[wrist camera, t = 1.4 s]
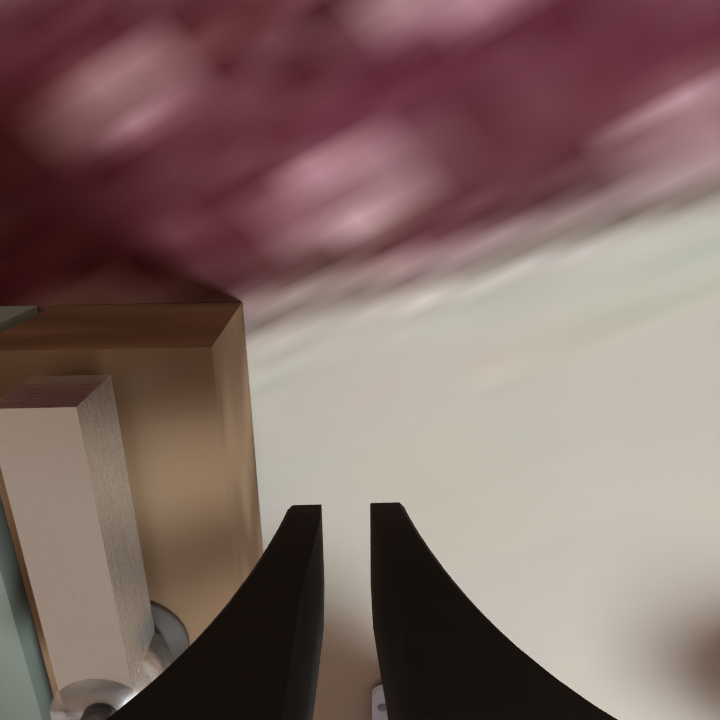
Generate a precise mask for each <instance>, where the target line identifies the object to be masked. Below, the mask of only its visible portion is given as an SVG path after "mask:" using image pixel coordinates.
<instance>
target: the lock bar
mask: <svg viewBox="0 0 720 720" xmlns="http://www.w3.org/2000/svg"><path fill="white" fill-rule="evenodd" d="M0 467H1V471H2V475H3V479H4V483H5V486H6V490H7V494H8V498H9V502H10V506H11V510H12V513H13V517H14V521H15V525H16V529H17V533H18V537H19V540H20V544H21V548H22V552H23V556H24V560H25V564H26V567H27V571H28V575H29V579H30V583H31V587H32V591H33V594H34V598H35V602H36V606H37V610H38V614H39V618H40V621H41V625H42V629H43V633H44V637H45V641H46V644H47V648H48V652H49V656H50V660H51V664H52V668H53V671H54V675H55V679H56V683H57V687H58V691H57V692H56V694H55V696H54V698H53V700H52V703H51V706H50V715H51V719H52V720H106V719H107V718H108V717H110V716H111V715H112V714H114V713H115V712H116V711H117V710H119V709H120V708H121V707H122V706H124V705H125V704H126V703H127V702H128V701H129V700H131V699H132V698H133V697H134V696H135V695H137V694H138V693H139V692H140V691H141V690H143V689H144V688H145V687H146V686H147V685H149V684H150V683H151V682H152V681H153V680H154V679H156V678H157V677H158V676H159V675H160V674H161V673H162V672H163V671H164V670H165V669H166V668H168V667H169V666H170V665H171V664H172V653H171V650H170V647H169V645H168V644H167V642H166V641H165V640H164V638H163V637H162V636H160V635H159V634H158V633H157V632H155V629H154V623H153V617H152V611H151V605H150V600H149V594H148V588H147V582H146V576H145V570H144V565H143V559H142V553H141V547H140V541H139V536H138V530H137V524H136V518H135V512H134V506H133V501H132V495H131V489H130V483H129V477H128V472H127V466H126V460H125V454H124V448H123V442H122V437H121V431H120V425H119V419H118V413H117V408H116V402H115V396H114V390H113V384H112V378H111V375H75V376H32V377H30V378H29V379H28V380H26V381H25V382H23V383H22V384H20V385H19V386H18V387H16V388H15V389H13V390H12V391H11V392H9V393H8V394H6V395H5V396H3V397H2V398H1V399H0Z"/></svg>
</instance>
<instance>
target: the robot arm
mask: <svg viewBox="0 0 720 720" xmlns="http://www.w3.org/2000/svg"><path fill="white" fill-rule="evenodd" d="M370 528H371V597H372V614H373V629H374V635H375V642H376V648H377V654H378V661H379V667H380V673H381V679H382V685H378V686H376V687H375V688H374V689H373V690H372V720H617V719H615V718H614V717H612V716H611V715H609V714H607V713H606V712H604V711H602V710H601V709H599V708H598V707H596V706H595V705H593V704H592V703H590V702H589V701H587V700H586V699H584V698H583V697H582V696H580V695H579V694H577V693H576V692H574V691H573V690H572V689H570V688H569V687H567V686H566V685H565V684H563V683H562V682H560V681H559V680H558V679H556V678H555V677H554V676H552V675H551V674H550V673H549V672H547V671H546V670H545V669H544V668H542V667H541V666H540V665H539V664H538V663H536V662H535V661H534V660H533V659H531V658H530V657H529V656H528V655H527V654H525V653H524V652H523V651H522V650H520V649H519V648H518V647H517V646H516V645H515V644H514V643H512V642H511V641H510V640H509V639H508V638H507V637H506V636H505V635H504V634H503V633H502V632H501V631H499V630H498V629H497V628H496V627H495V626H494V625H493V624H492V623H491V622H490V621H489V620H488V619H487V618H486V617H485V616H484V615H483V614H482V613H481V611H480V610H479V609H478V608H477V607H476V606H475V605H474V604H473V603H472V602H471V601H470V600H469V598H468V597H467V596H466V595H465V594H464V593H463V591H462V590H461V589H460V588H459V587H458V586H457V584H456V583H455V582H454V581H453V580H452V578H451V577H450V576H449V575H448V573H447V572H446V571H445V570H444V568H443V567H442V565H441V564H440V563H439V561H438V560H437V559H436V557H435V556H434V555H433V553H432V552H431V551H430V549H429V548H428V546H427V545H426V543H425V542H424V540H423V539H422V537H421V536H420V534H419V533H418V531H417V529H416V528H415V526H414V525H413V523H412V521H411V519H410V518H409V516H408V514H407V512H406V510H405V508H404V507H403V506H402V505H401V504H400V503H399V502H398V503H370ZM323 627H324V561H323V535H322V508H321V505H293V506H291V507H290V508H289V509H288V510H287V512H286V515H285V517H284V519H283V521H282V523H281V525H280V527H279V528H278V530H277V532H276V534H275V535H274V537H273V539H272V541H271V542H270V544H269V546H268V547H267V549H266V550H265V552H264V553H263V555H262V556H261V558H260V559H259V561H258V562H257V564H256V566H255V567H254V569H253V570H252V571H251V573H250V574H249V576H248V577H247V578H246V580H245V581H244V582H243V584H242V585H241V586H240V588H239V589H238V590H237V592H236V593H235V594H234V596H233V597H232V598H231V600H230V601H229V602H228V603H227V605H226V606H225V607H224V608H223V609H222V611H221V612H220V613H219V614H218V615H217V617H216V618H215V619H214V620H213V621H212V622H211V623H210V625H209V626H208V627H207V628H206V629H205V630H204V631H203V632H202V633H201V634H200V636H199V637H198V638H197V639H196V640H195V641H194V642H193V643H192V644H191V645H190V646H189V647H188V648H187V649H186V650H185V651H184V652H183V653H182V654H181V655H180V656H179V657H178V658H177V659H176V660H175V661H174V662H173V663H172V664H171V665H170V666H169V667H168V668H166V669H165V670H164V671H163V672H162V673H161V674H160V675H159V676H158V677H157V678H156V679H154V680H153V681H152V682H151V683H150V684H149V685H147V686H146V687H145V688H144V689H143V690H141V691H140V692H139V693H138V694H137V695H135V696H134V697H133V698H132V699H131V700H129V701H128V702H127V703H126V704H125V705H124V706H122V707H121V708H120V709H119V710H117V711H116V712H115V713H114V714H112V715H111V716H110V717H108V718H107V719H106V720H312V719H313V711H314V703H315V695H316V687H317V679H318V671H319V662H320V654H321V646H322V637H323ZM382 703H384V704H382Z"/></svg>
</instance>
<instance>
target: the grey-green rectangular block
mask: <svg viewBox="0 0 720 720" xmlns="http://www.w3.org/2000/svg"><path fill="white" fill-rule="evenodd" d="M36 314H38V309H37V306H0V333H1V332H3V331H5V330H7V329H9V328H11V327H13V326H15V325H17V324H19V323H21V322H23V321H25V320H26V319H28V318H30V317H32V316H34V315H36ZM53 698H54V695H53V692H52V688H51V684H50V680H49V676H48V673H47V669H46V665H45V661H44V658H43V654H42V650H41V646H40V642H39V639H38V635H37V631H36V627H35V624H34V620H33V616H32V612H31V608H30V605H29V601H28V597H27V593H26V590H25V586H24V582H23V578H22V574H21V571H20V567H19V563H18V559H17V555H16V552H15V548H14V544H13V540H12V537H11V533H10V529H9V525H8V521H7V518H6V514H5V510H4V506H3V503H2V499H1V495H0V720H52V719H51V715H50V706H51V703H52V700H53Z"/></svg>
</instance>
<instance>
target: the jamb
mask: <svg viewBox="0 0 720 720" xmlns="http://www.w3.org/2000/svg"><path fill="white" fill-rule="evenodd" d="M75 375H111V378H112V384H113V390H114V396H115V402H116V408H117V413H118V419H119V425H120V431H121V437H122V442H123V448H124V454H125V460H126V466H127V472H128V477H129V483H130V489H131V495H132V501H133V506H134V512H135V518H136V524H137V530H138V536H139V541H140V547H141V553H142V559H143V565H144V570H145V576H146V582H147V588H148V594H149V600H150V605H151V611H152V617H153V623H154V629H155V632H157V633H158V634H159V635H160V636H162V637H163V638H164V640H165V641H166V642H167V644H168V645H169V647H170V650H171V653H172V663H173V662H174V661H175V660H176V659H177V658H178V657H179V656H180V655H181V654H182V653H183V652H184V651H185V650H186V649H187V648H188V647H189V646H190V645H191V644H192V643H193V642H194V641H195V640H196V639H197V638H198V637H199V636H200V634H201V633H202V632H203V631H204V630H205V629H206V628H207V627H208V626H209V625H210V623H211V622H212V621H213V620H214V619H215V618H216V617H217V615H218V614H219V613H220V612H221V611H222V609H223V608H224V607H225V606H226V605H227V603H228V602H229V601H230V600H231V598H232V597H233V596H234V594H235V593H236V592H237V590H238V589H239V588H240V586H241V585H242V584H243V582H244V581H245V580H246V578H247V577H248V576H249V574H250V573H251V571H252V570H253V569H254V567H255V566H256V564H257V562H258V561H259V559H260V558H261V556H262V555H263V547H262V535H261V522H260V510H259V498H258V486H257V474H256V461H255V449H254V437H253V425H252V413H251V401H250V388H249V376H248V364H247V352H246V340H245V328H244V315H243V303H242V302H224V303H164V304H104V305H54V306H52V307H50V308H48V309H46V310H44V311H42V312H40V313H38V314H36V315H34V316H32V317H30V318H28V319H26V320H25V321H23V322H21V323H19V324H17V325H15V326H13V327H11V328H9V329H7V330H5V331H3V332H1V333H0V399H1V398H2V397H3V396H5V395H6V394H8V393H9V392H11V391H12V390H13V389H15V388H16V387H18V386H19V385H20V384H22V383H23V382H25V381H26V380H28V379H29V378H30V377H32V376H75ZM0 495H1V499H2V503H3V506H4V510H5V514H6V518H7V521H8V525H9V529H10V533H11V537H12V540H13V544H14V548H15V552H16V555H17V559H18V563H19V567H20V571H21V574H22V578H23V582H24V586H25V590H26V593H27V597H28V601H29V605H30V608H31V612H32V616H33V620H34V624H35V627H36V631H37V635H38V639H39V642H40V646H41V650H42V654H43V658H44V661H45V665H46V669H47V673H48V676H49V680H50V684H51V688H52V692H53V695H54V696H55V694H56V692H57V691H58V687H57V683H56V679H55V675H54V671H53V668H52V664H51V660H50V656H49V652H48V648H47V644H46V641H45V637H44V633H43V629H42V625H41V621H40V618H39V614H38V610H37V606H36V602H35V598H34V594H33V591H32V587H31V583H30V579H29V575H28V571H27V567H26V564H25V560H24V556H23V552H22V548H21V544H20V540H19V537H18V533H17V529H16V525H15V521H14V517H13V513H12V510H11V506H10V502H9V498H8V494H7V490H6V486H5V483H4V479H3V475H2V471H1V467H0Z"/></svg>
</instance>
